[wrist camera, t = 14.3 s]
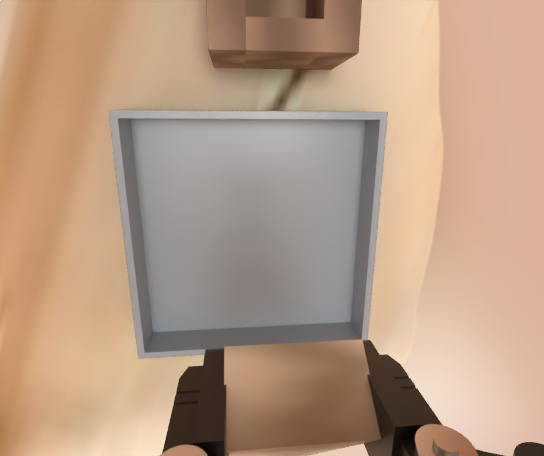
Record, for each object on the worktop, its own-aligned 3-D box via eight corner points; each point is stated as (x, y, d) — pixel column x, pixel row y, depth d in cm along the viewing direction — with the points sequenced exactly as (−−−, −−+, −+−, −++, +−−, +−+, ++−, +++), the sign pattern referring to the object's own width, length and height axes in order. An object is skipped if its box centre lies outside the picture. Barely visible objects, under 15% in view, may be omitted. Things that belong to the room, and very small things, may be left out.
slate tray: (148, 334, 36) (138, 358, 33) (124, 112, 30) (108, 109, 26) (353, 323, 38) (366, 345, 35) (369, 113, 32) (387, 111, 29)
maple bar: (235, 412, 21) (236, 462, 20) (224, 346, 10) (223, 451, 8) (300, 408, 22) (305, 456, 20) (362, 339, 10) (383, 438, 9)
